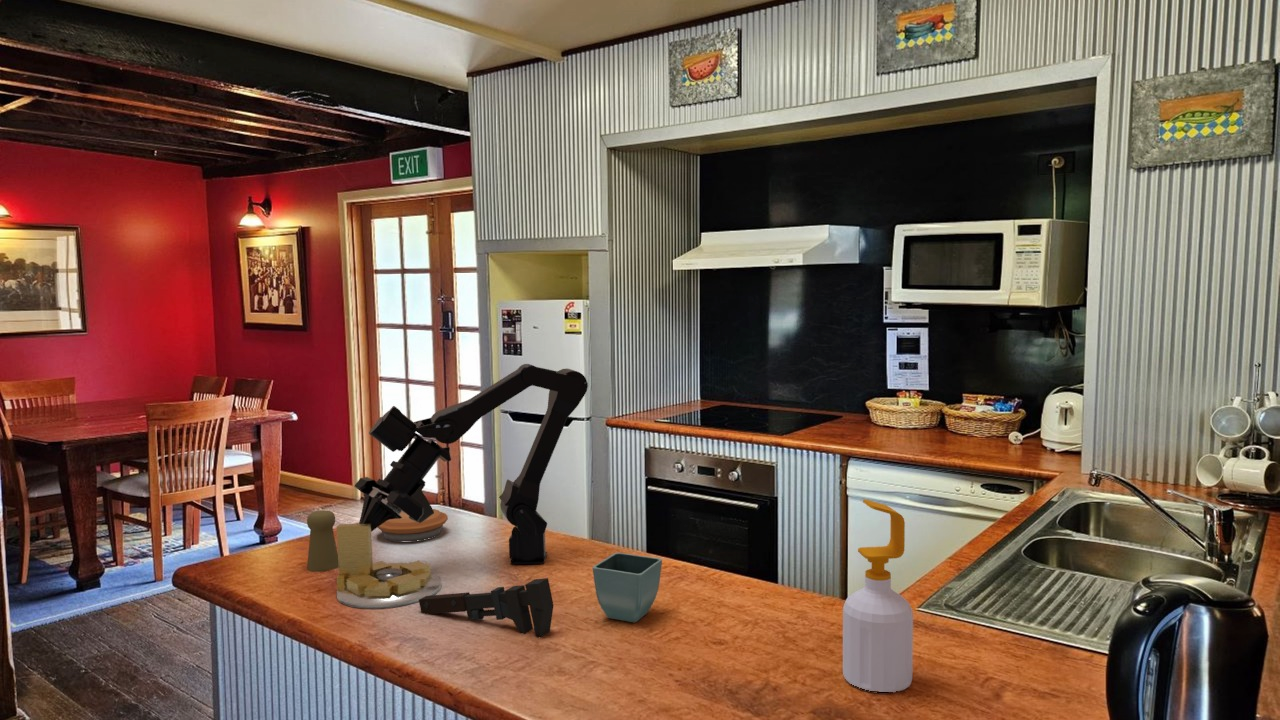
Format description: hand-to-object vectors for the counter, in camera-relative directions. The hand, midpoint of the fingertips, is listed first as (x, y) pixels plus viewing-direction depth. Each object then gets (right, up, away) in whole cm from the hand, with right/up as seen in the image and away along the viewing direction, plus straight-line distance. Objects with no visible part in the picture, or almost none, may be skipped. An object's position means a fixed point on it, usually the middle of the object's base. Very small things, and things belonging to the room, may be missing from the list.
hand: (358, 537), depth 156 cm
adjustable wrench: (+25, -11, -16) cm, 32 cm away
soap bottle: (+83, -12, -38) cm, 92 cm away
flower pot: (+49, -10, -14) cm, 52 cm away
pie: (+1, -7, +34) cm, 35 cm away
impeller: (+6, -9, -1) cm, 11 cm away
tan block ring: (+5, -8, -1) cm, 9 cm away
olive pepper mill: (-11, -9, +13) cm, 19 cm away
